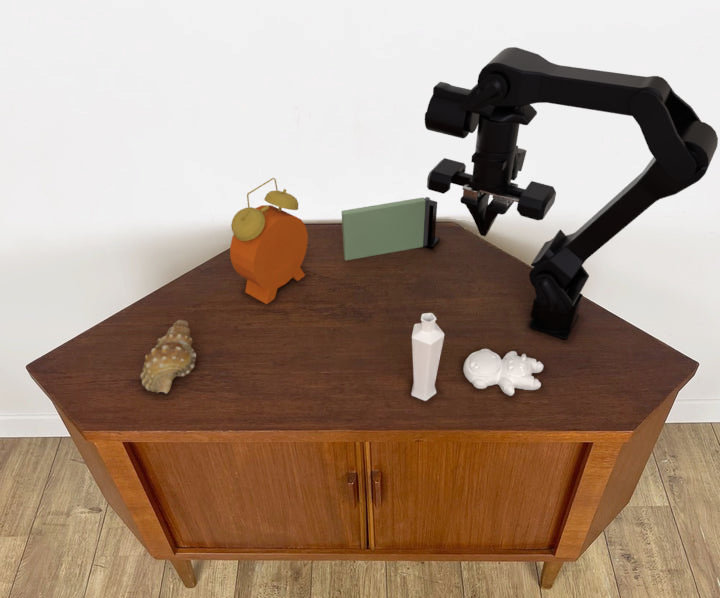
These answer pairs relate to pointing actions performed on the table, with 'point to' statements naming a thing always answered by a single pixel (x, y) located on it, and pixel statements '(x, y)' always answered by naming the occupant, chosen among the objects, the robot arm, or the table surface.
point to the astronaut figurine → (502, 371)
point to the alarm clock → (268, 244)
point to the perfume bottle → (426, 356)
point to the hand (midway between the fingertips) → (484, 234)
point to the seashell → (169, 359)
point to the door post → (432, 226)
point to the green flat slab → (385, 228)
